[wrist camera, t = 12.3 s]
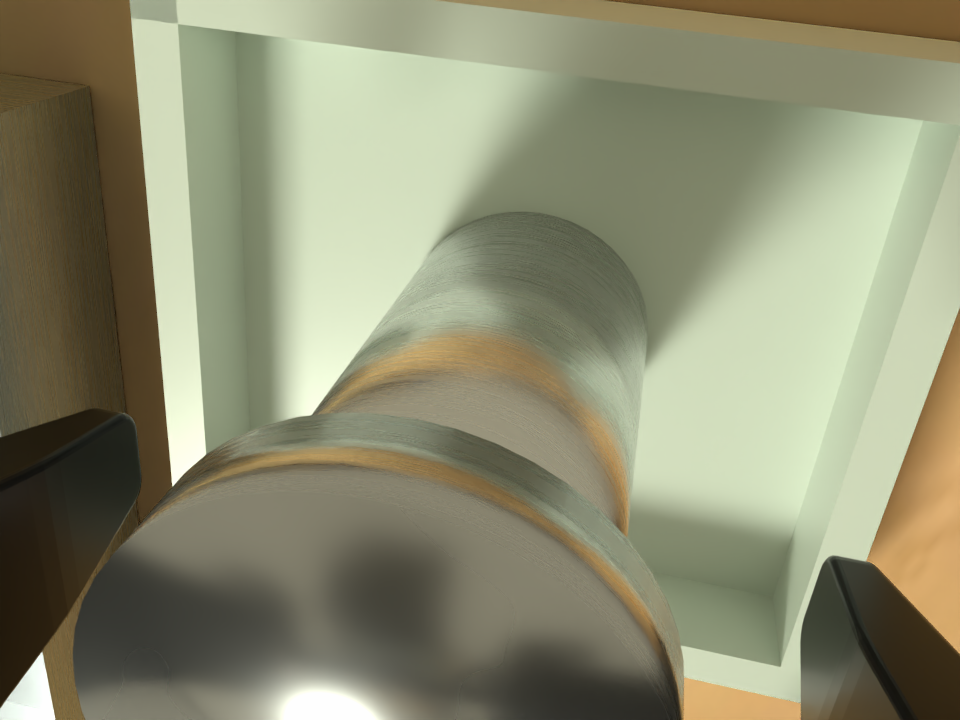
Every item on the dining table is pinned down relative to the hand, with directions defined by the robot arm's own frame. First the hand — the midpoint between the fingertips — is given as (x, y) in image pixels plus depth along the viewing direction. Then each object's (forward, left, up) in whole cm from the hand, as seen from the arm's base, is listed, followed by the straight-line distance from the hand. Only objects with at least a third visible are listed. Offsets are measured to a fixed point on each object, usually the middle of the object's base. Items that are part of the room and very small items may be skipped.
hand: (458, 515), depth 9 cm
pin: (0, 0, -4) cm, 5 cm away
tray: (0, 0, -5) cm, 5 cm away
